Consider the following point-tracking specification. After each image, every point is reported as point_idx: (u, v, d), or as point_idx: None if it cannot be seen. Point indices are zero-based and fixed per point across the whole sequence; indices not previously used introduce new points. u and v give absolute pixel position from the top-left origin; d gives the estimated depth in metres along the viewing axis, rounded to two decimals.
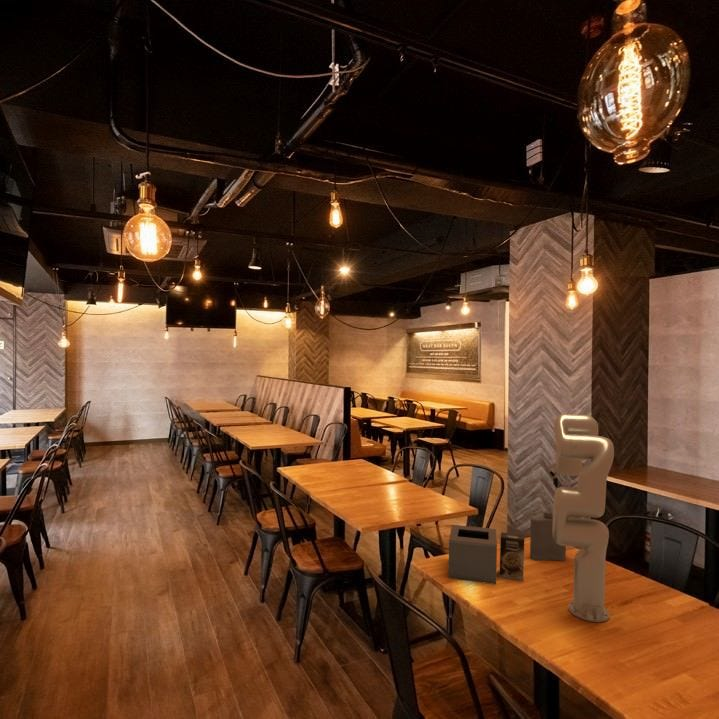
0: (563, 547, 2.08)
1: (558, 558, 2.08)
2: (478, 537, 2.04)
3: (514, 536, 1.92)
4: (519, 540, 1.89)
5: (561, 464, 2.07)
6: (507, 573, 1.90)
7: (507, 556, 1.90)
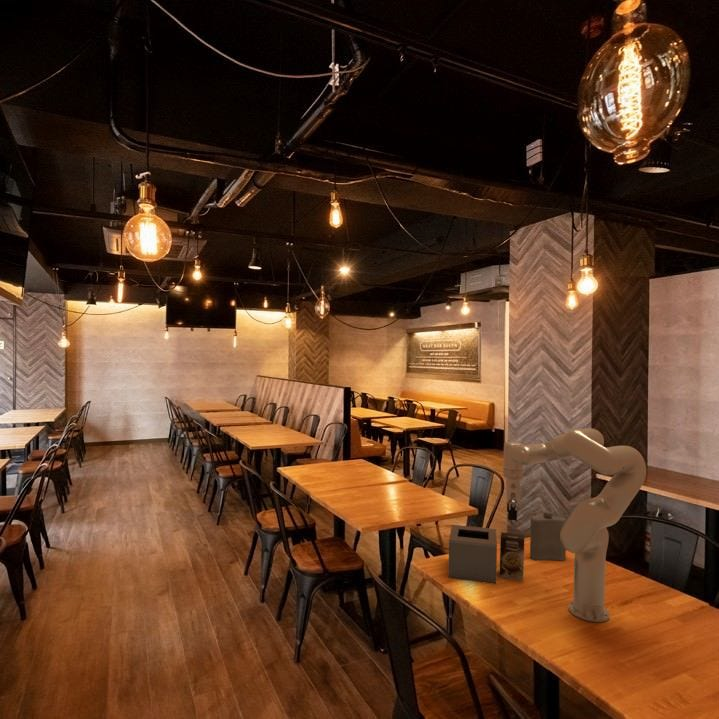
0: (563, 547, 2.08)
1: (558, 558, 2.08)
2: (478, 537, 2.04)
3: (514, 536, 1.92)
4: (519, 540, 1.89)
5: None
6: (507, 573, 1.90)
7: (507, 556, 1.90)
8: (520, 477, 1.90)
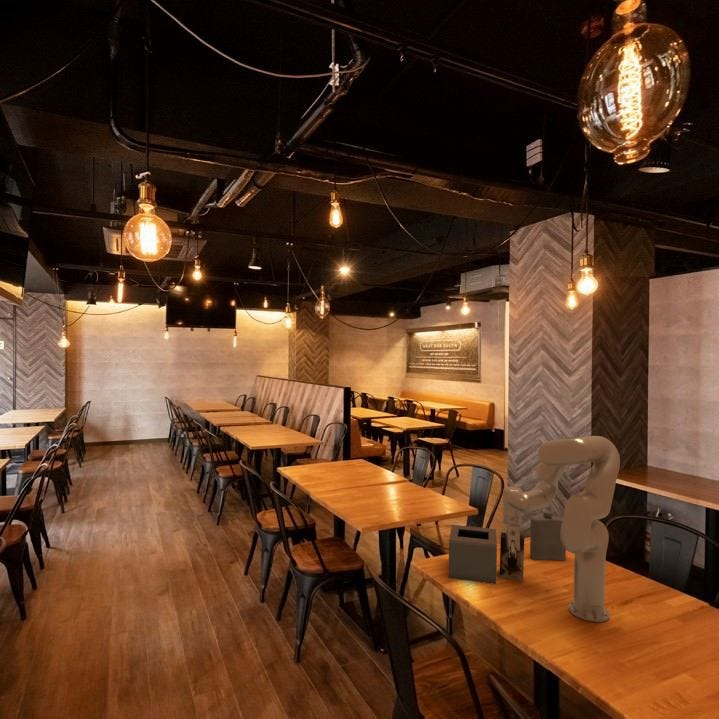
0: (563, 547, 2.08)
1: (558, 558, 2.08)
2: (478, 537, 2.04)
3: None
4: None
5: (519, 539, 1.89)
6: (507, 573, 1.90)
7: (507, 556, 1.90)
8: (519, 524, 1.90)
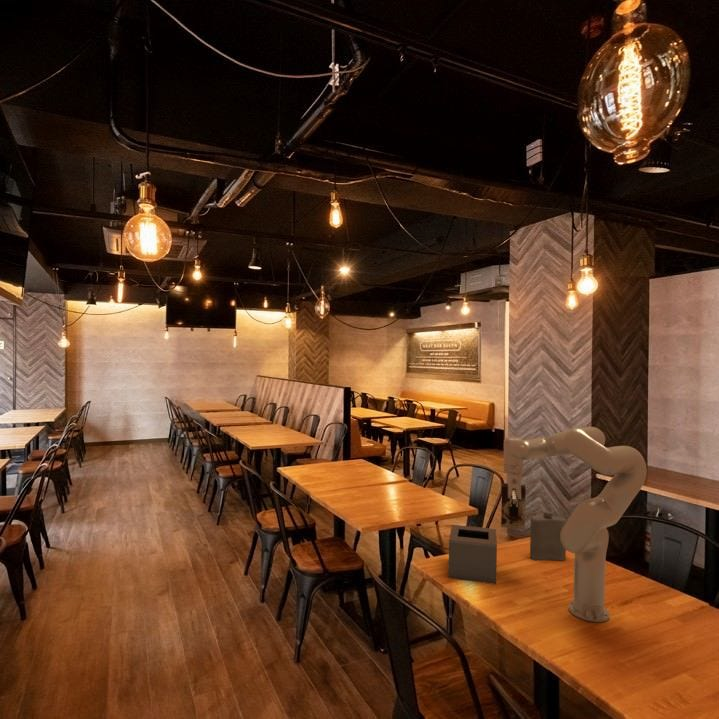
0: (563, 547, 2.08)
1: (558, 558, 2.08)
2: (478, 537, 2.04)
3: None
4: None
5: None
6: (509, 522, 1.90)
7: (509, 505, 1.90)
8: (521, 472, 1.89)
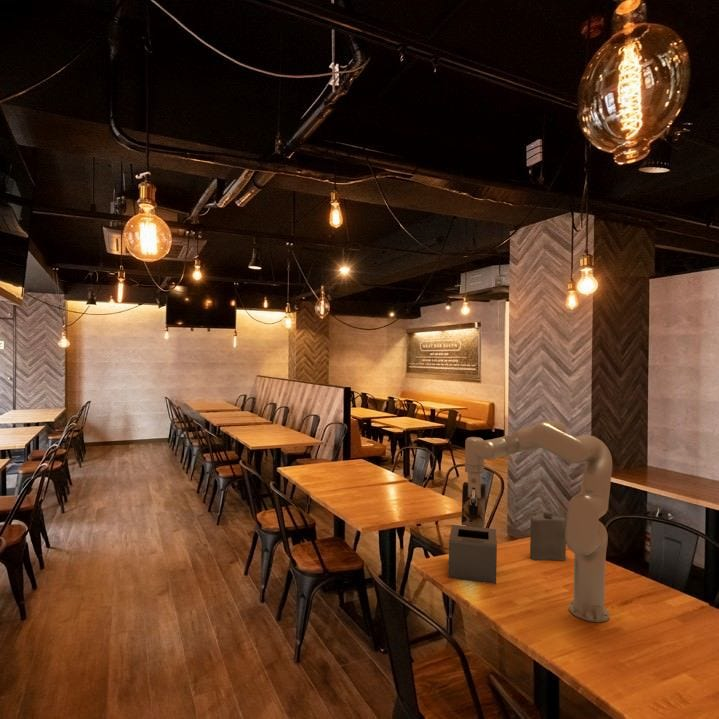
0: (563, 547, 2.08)
1: (558, 558, 2.08)
2: (478, 537, 2.04)
3: None
4: None
5: (480, 487, 1.92)
6: (469, 520, 1.94)
7: (469, 504, 1.94)
8: (481, 472, 1.93)
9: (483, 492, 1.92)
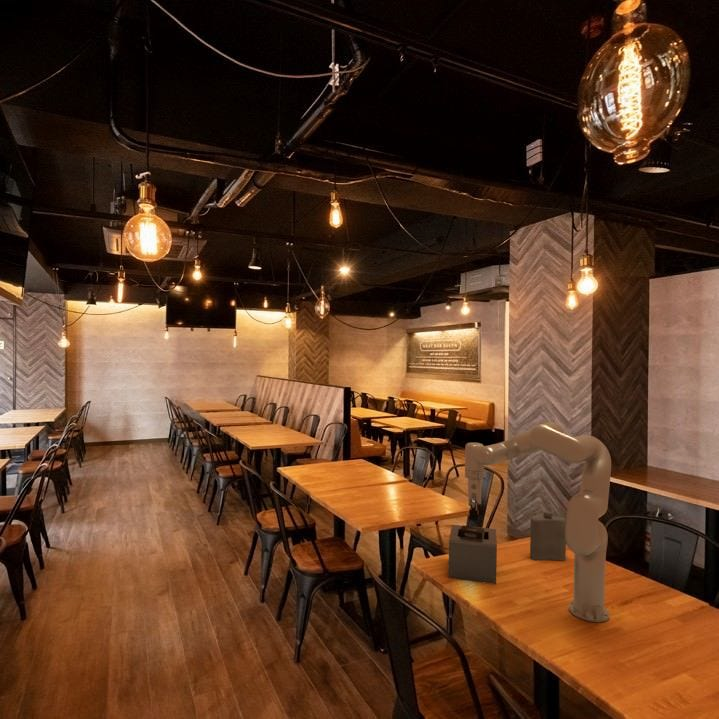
0: (563, 547, 2.08)
1: (558, 558, 2.08)
2: None
3: (473, 529, 1.96)
4: (477, 533, 1.93)
5: (480, 493, 1.92)
6: None
7: None
8: (481, 478, 1.93)
9: (480, 537, 1.92)
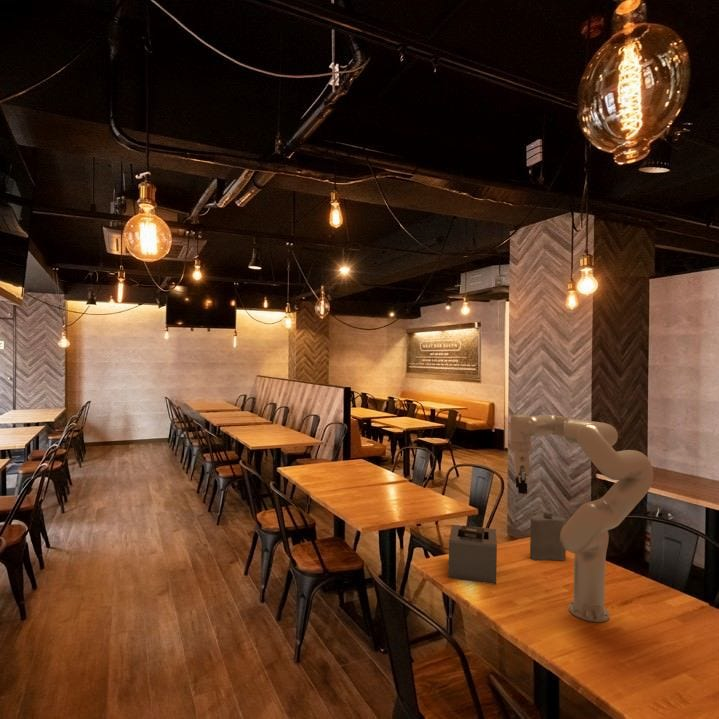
0: (563, 547, 2.08)
1: (558, 558, 2.08)
2: None
3: (473, 529, 1.96)
4: (477, 533, 1.93)
5: None
6: None
7: None
8: (528, 449, 1.87)
9: (480, 537, 1.92)
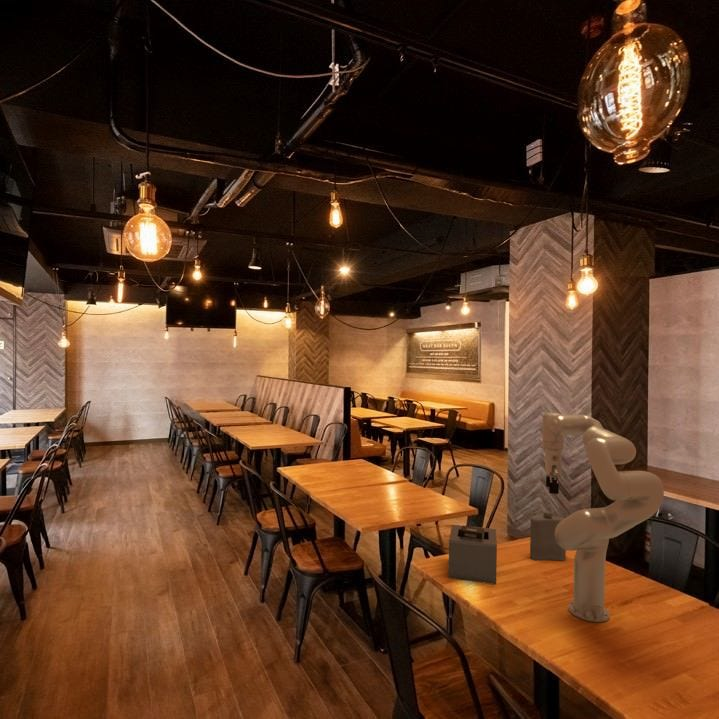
0: None
1: (558, 558, 2.08)
2: None
3: (473, 529, 1.96)
4: (477, 533, 1.93)
5: (561, 465, 1.81)
6: None
7: None
8: (561, 449, 1.82)
9: (480, 537, 1.92)
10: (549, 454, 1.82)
